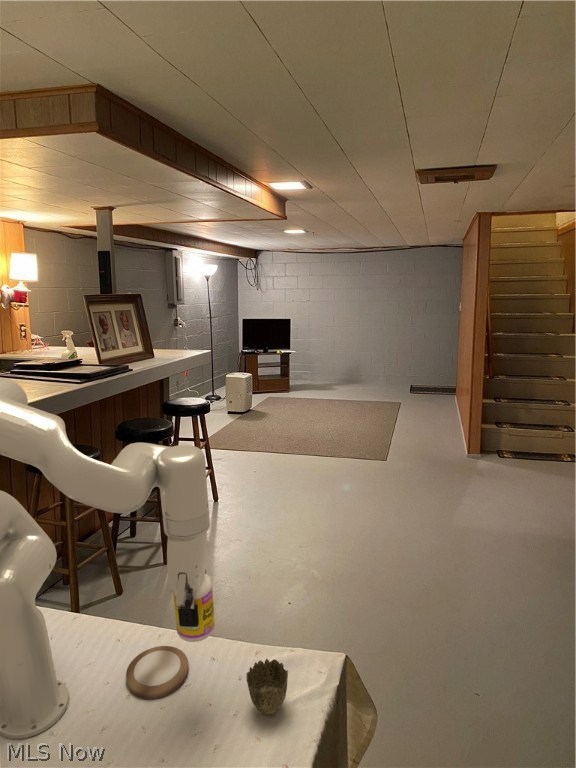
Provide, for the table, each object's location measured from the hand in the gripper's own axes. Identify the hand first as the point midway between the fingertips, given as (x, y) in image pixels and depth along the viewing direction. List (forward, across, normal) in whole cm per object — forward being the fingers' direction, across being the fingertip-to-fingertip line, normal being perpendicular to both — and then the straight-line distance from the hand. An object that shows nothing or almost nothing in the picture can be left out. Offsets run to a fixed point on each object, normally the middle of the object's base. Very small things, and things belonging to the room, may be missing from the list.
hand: (194, 609), depth 98 cm
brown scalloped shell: (+21, 0, +12) cm, 24 cm away
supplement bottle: (+4, 0, 0) cm, 4 cm away
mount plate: (+21, -7, -10) cm, 25 cm away
